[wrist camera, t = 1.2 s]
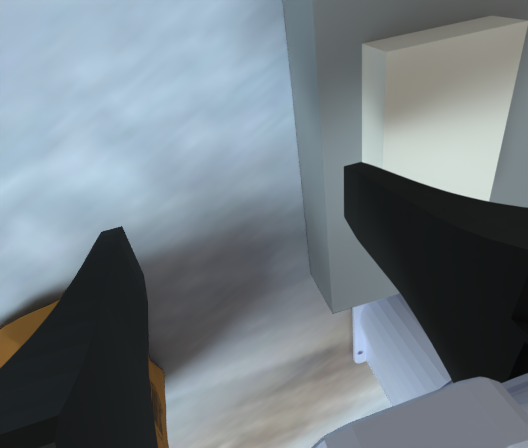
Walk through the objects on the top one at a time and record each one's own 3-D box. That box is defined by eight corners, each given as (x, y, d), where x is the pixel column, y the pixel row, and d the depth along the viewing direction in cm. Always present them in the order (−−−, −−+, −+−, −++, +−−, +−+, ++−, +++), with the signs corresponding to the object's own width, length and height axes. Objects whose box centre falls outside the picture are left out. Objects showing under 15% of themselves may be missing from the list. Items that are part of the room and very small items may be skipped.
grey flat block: (485, 222, 30) (527, 254, 26) (310, 273, 28) (332, 313, 25) (575, -187, 17) (677, -223, 14) (268, -141, 15) (301, -170, 12)
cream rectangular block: (461, 194, 22) (486, 212, 20) (361, 221, 21) (380, 242, 20) (491, 15, 17) (529, 20, 15) (361, 43, 16) (386, 52, 14)
